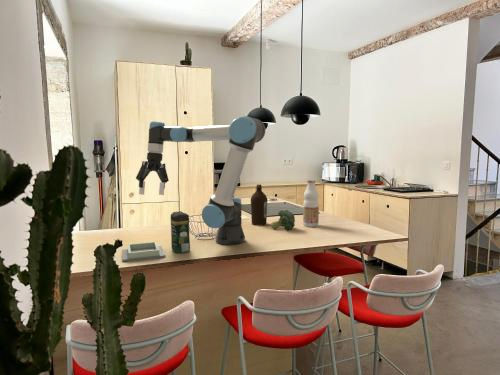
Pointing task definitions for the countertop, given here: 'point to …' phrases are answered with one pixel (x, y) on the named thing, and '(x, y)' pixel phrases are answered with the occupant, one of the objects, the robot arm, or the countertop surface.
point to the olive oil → (259, 207)
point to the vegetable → (284, 220)
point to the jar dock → (142, 251)
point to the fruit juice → (311, 205)
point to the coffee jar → (180, 232)
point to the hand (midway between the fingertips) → (151, 194)
